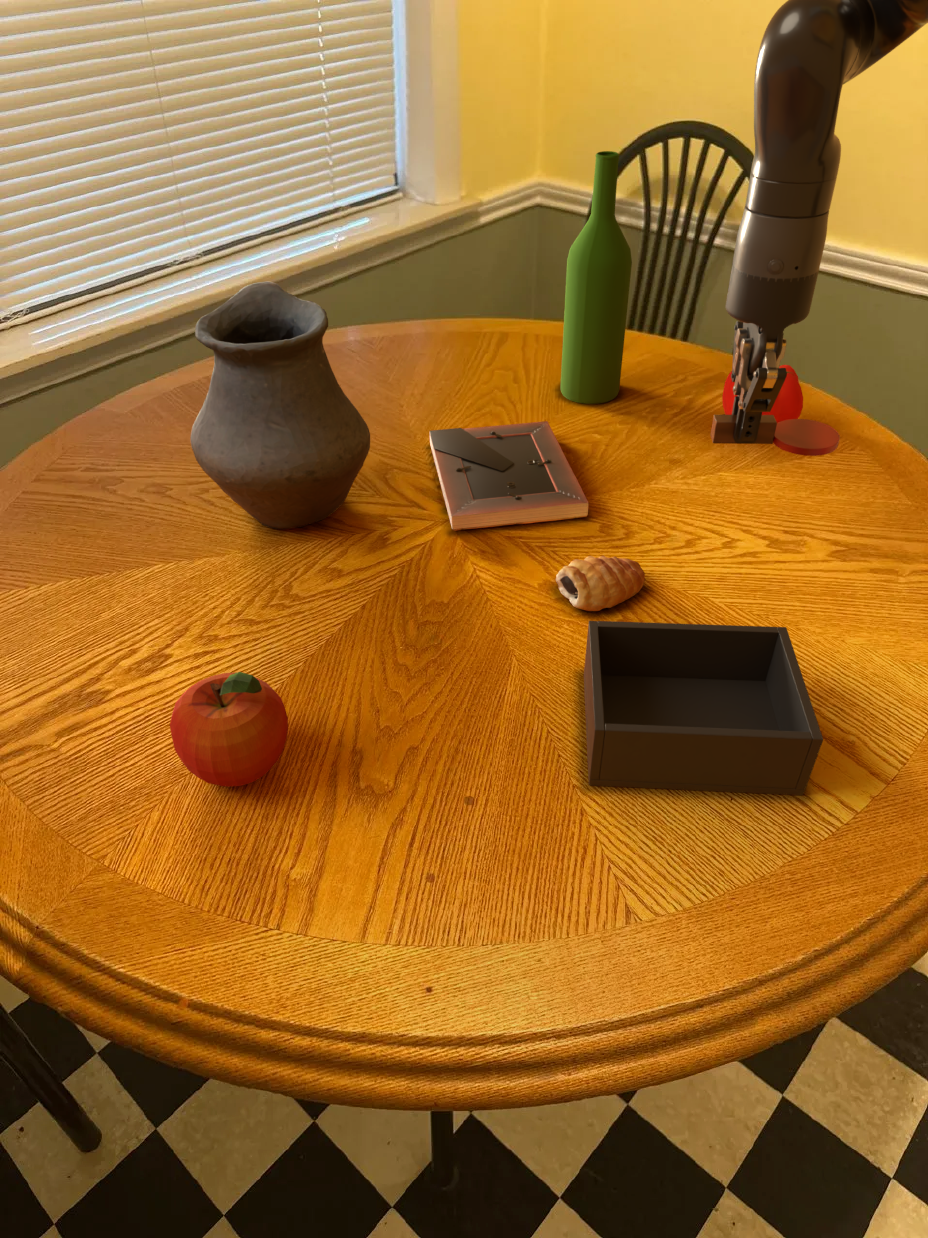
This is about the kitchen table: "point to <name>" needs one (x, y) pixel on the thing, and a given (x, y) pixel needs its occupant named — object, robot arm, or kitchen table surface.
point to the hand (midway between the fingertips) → (742, 435)
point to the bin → (697, 708)
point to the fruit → (229, 729)
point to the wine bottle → (596, 296)
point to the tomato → (785, 403)
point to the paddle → (782, 434)
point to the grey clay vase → (276, 410)
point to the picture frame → (505, 476)
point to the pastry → (600, 581)
